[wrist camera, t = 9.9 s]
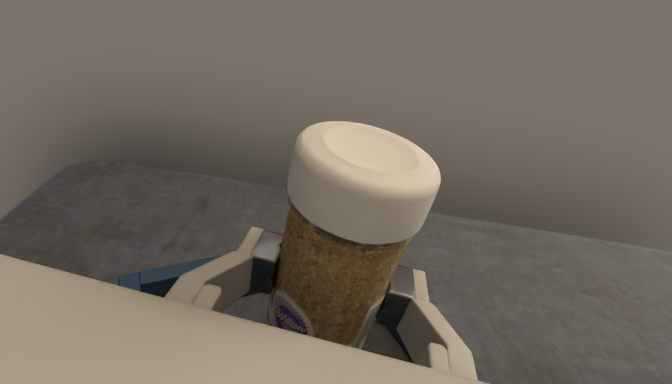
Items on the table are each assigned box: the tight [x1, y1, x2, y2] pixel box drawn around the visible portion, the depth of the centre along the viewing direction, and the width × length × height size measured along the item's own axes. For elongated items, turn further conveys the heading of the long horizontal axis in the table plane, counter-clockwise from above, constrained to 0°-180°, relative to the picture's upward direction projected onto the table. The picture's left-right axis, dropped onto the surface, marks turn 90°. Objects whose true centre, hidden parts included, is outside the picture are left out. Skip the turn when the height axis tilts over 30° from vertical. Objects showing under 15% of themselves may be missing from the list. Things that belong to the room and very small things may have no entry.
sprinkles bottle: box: [265, 121, 441, 350], centre depth 13 cm, size 5×5×13 cm
